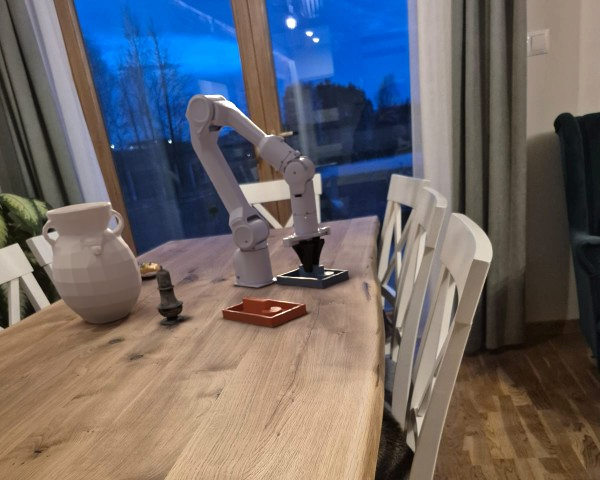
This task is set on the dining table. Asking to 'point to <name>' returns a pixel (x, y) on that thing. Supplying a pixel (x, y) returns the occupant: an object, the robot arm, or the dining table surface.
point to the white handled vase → (93, 262)
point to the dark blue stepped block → (315, 272)
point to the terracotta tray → (288, 313)
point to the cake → (148, 268)
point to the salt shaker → (168, 299)
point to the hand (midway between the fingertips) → (311, 270)
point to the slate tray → (312, 279)
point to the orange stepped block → (260, 307)
